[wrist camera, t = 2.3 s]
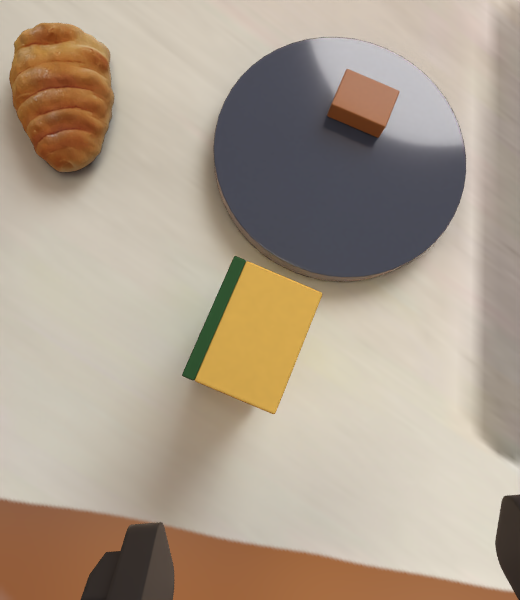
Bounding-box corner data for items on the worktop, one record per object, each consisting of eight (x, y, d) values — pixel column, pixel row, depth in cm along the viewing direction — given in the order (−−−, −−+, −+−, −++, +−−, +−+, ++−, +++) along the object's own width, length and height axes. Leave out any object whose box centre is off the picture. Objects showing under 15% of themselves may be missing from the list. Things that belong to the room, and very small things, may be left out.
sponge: (196, 373, 30) (181, 375, 20) (232, 292, 31) (234, 255, 21) (259, 399, 30) (274, 415, 20) (292, 317, 31) (323, 292, 21)
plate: (173, 221, 31) (170, 213, 30) (270, 15, 34) (272, -1, 33) (410, 321, 31) (419, 319, 30) (486, 107, 34) (497, 95, 33)
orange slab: (326, 116, 32) (331, 103, 30) (341, 81, 32) (346, 67, 31) (378, 138, 32) (385, 127, 30) (392, 103, 32) (400, 90, 31)
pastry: (126, 170, 31) (112, 144, 28) (27, 182, 31) (-1, 156, 27) (112, 51, 33) (97, 10, 29) (17, 59, 32) (-11, 18, 28)
